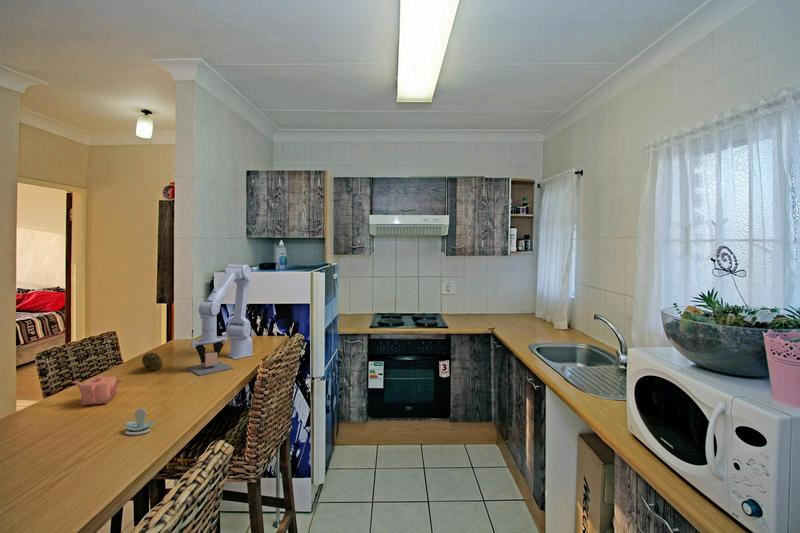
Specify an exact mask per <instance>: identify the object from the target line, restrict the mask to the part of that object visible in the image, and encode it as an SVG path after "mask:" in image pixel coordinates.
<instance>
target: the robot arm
mask: <svg viewBox="0 0 800 533" xmlns="http://www.w3.org/2000/svg"><path fill="white" fill-rule="evenodd" d="M251 274H252V269H251V268H250V265H249V264H232V263H229V264H227V265H226V266H225V269H224V275H223V278H222V279H221V281H220V283H219V286H218V287H215V288H212V291H211V293H210V294H209V295H208V297H207V299H206V300H205V301H203V302H201V303H200V305H199V307H198V314H199V315H200V319H201V339H200V340H195V341H191V342H190V347H191V348H195V350H196V352H197V354H198V356H199V360H200V363H201V362H202V363H205V352H206V349H207V348H206V347H205V346H209V345H212V347H213V351H214V352H217V353H218V358H219V356H220V353H221V351H222V348H223V347H224V343H227V342H228V339H230V350H229V352H230V354H229V353H228V354H227V355H226V357H228V358H231V359H233V360H236V359H242V358H246V357H252V356H254V354H253V340H252V338H251V336H250V334H251V330H252V329H251V321H250V320H248V318H246V315H247V314H246V313H247V304H248V294H249V287H250V286H249V285H250V282H251V277H252V276H251ZM234 282H235V284H236V292H235V301H234V310H233V317H232V318H230V319H229V320H228V322H227V323H228V324H227V327H226V329H225V333H226V335H227V336H228V337H226V336H222V337H217V336H218V335H217V332H218V331H217V327H218V326H217V321H218V320H217V319H218V318H217V315H218V314H219V313H220V310H221V304H222V303H223V301H224V299H225V298H226V296H227V292H226V291H227V290H228V288H230V286H231V285H232V283H234Z"/></svg>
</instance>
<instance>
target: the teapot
mask: <svg viewBox="0 0 800 533" xmlns="http://www.w3.org/2000/svg"><path fill="white" fill-rule="evenodd" d="M124 379H125V378H123V377H122V378H118V379H117V376H114V375H113V376H101V375H100V376H96V377H91V378H90V379H88V380H87V381H85V382H84V383H82V382H80V381H72V383H73V384H76V385H77V387H78V389H79V393H80V402H81V404H80V405H81V406H91V405H101V404H102V405H103V403H104V404H108V403H109V402H110V401H111V400H112V399H113V398H114V397H115V396H116V395H117V390H118V389H119V386H120V385H119V384H120V383H121V382H122V380H124ZM125 380H126V379H125ZM90 404H91V405H90Z"/></svg>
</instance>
